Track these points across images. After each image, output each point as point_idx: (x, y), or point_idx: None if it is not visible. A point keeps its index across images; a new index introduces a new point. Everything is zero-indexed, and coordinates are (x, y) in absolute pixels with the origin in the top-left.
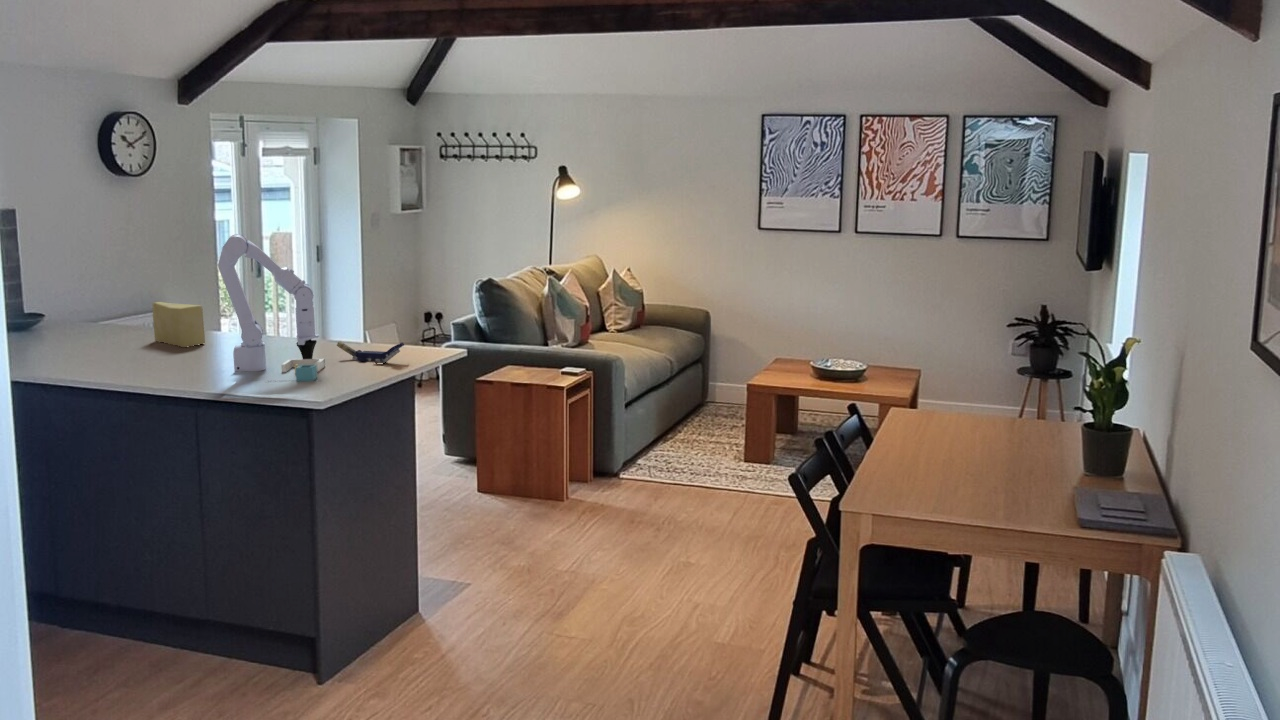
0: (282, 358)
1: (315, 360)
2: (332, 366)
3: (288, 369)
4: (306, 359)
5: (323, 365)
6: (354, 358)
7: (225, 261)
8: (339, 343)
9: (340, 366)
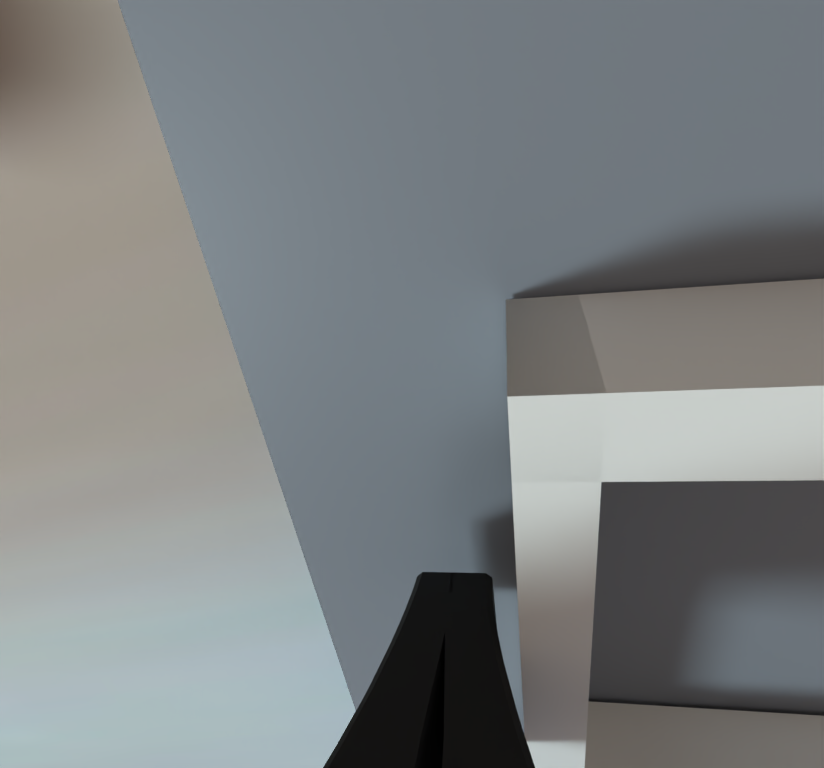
0: (10, 764)
1: (590, 547)
2: (171, 232)
3: (789, 722)
4: (583, 695)
5: (645, 310)
6: None
7: None
8: None
9: (115, 47)
